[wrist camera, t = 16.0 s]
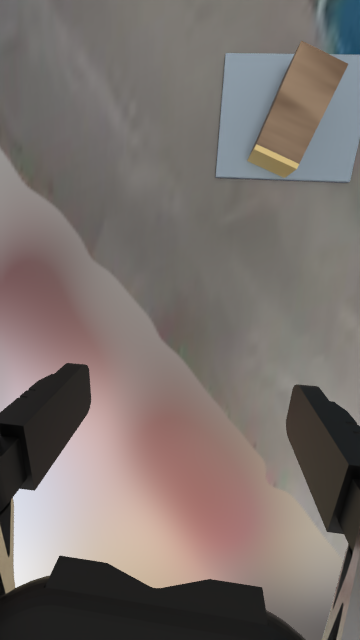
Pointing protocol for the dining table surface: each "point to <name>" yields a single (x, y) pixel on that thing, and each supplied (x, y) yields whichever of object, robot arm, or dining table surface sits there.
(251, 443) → the dining table surface
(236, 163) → the slate mat
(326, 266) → the dining table surface
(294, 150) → the wooden block
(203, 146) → the dining table surface
